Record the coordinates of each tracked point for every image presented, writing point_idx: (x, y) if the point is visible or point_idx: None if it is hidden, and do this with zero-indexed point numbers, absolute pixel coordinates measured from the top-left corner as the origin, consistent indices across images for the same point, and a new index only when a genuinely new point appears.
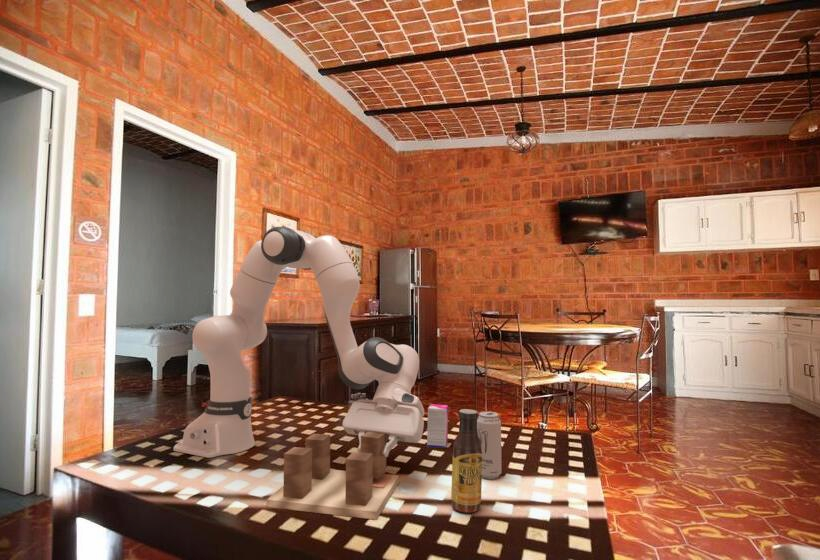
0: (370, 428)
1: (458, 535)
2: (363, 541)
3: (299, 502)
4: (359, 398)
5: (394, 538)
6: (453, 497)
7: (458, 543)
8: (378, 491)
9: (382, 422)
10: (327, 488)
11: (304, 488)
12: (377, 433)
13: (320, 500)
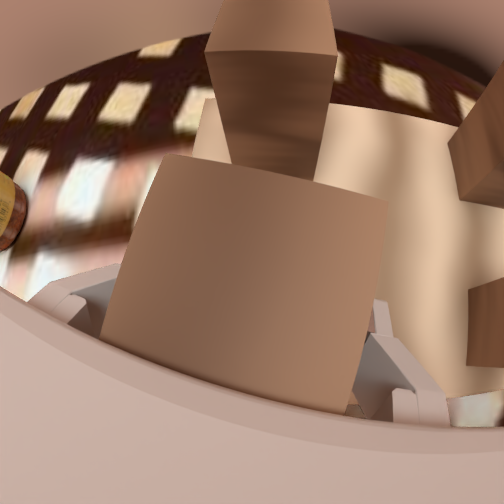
0: (323, 432)
1: (51, 113)
2: None
3: (441, 125)
4: None
5: (163, 68)
6: (10, 185)
7: (59, 94)
8: None
9: (88, 485)
10: (421, 218)
11: (461, 139)
12: (193, 341)
13: (397, 135)
